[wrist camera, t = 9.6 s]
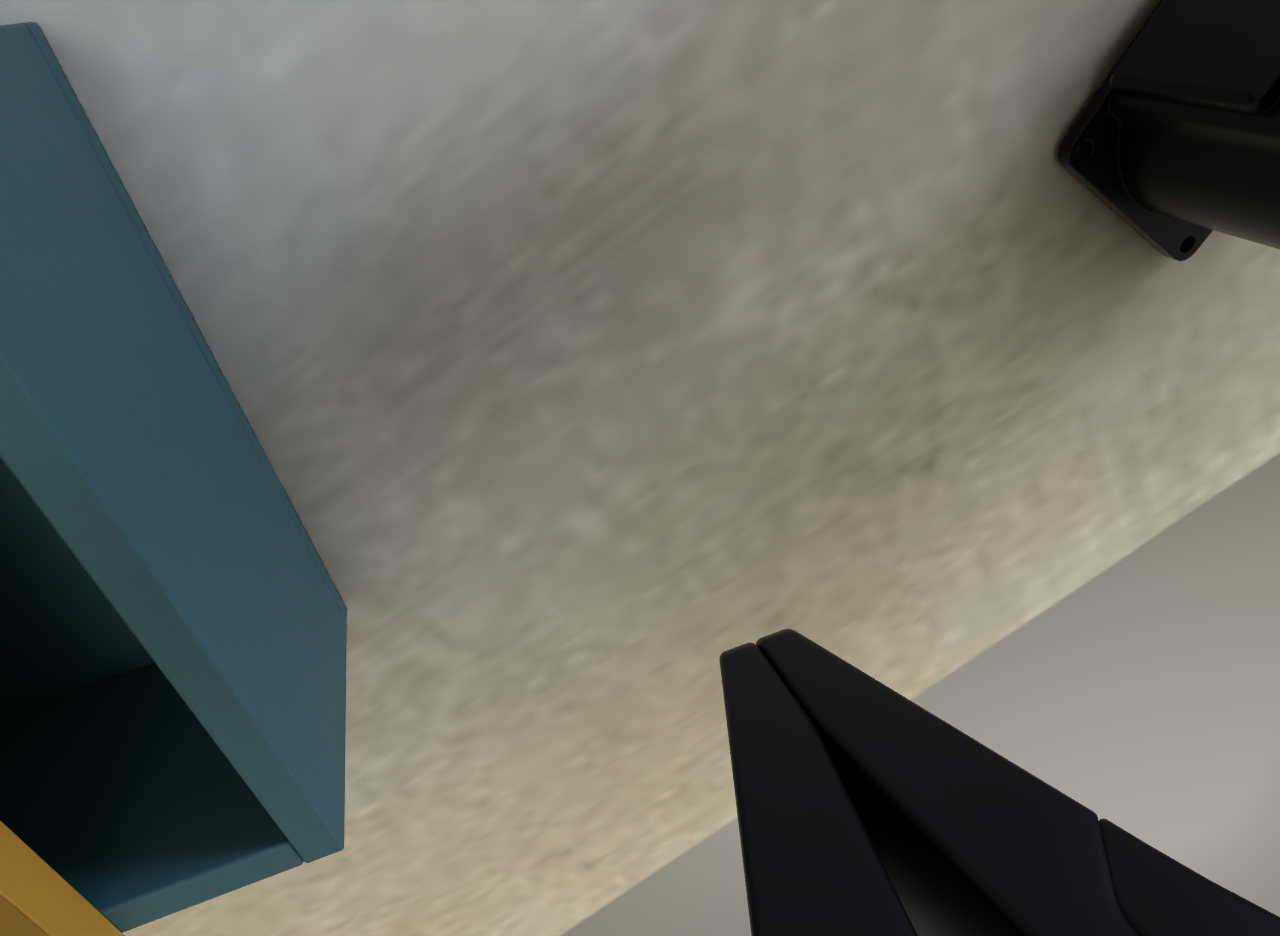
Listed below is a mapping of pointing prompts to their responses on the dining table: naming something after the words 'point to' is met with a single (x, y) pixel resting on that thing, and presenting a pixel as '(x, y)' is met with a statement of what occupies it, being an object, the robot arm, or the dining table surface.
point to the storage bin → (142, 557)
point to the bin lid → (41, 897)
